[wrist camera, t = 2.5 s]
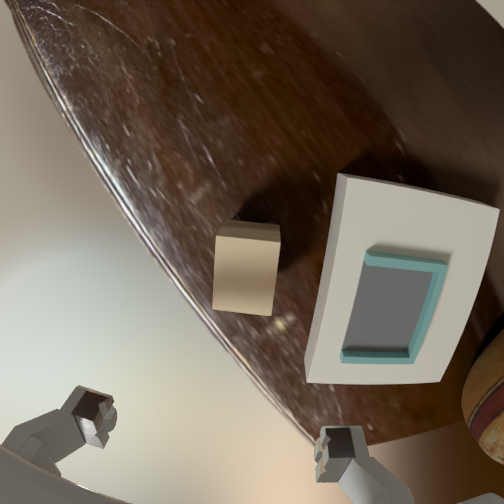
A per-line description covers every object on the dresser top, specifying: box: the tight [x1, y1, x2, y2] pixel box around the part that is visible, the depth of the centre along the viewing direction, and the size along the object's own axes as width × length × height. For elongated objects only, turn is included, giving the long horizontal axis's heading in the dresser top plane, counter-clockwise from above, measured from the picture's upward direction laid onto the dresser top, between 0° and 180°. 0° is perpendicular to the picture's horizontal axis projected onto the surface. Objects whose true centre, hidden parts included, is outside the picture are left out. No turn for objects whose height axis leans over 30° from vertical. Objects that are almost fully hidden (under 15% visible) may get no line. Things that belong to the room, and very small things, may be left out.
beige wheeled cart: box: [212, 218, 281, 316], centre depth 27 cm, size 6×5×7 cm
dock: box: [304, 173, 500, 384], centre depth 28 cm, size 20×16×5 cm
